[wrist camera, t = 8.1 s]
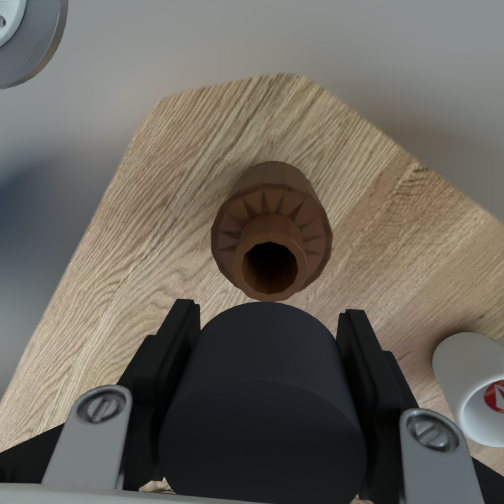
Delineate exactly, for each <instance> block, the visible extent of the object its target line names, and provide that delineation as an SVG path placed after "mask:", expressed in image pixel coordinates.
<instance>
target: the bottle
mask: <svg viewBox="0 0 504 504" xmlns="http://www.w3.org/2000/svg"><path fill="white" fill-rule="evenodd" d="M332 240H333V233H332V230H331V226H330V223H329V220H328V217H327V214H326V212H325V210H324V208H323V206H322V204H321V202H320V200H319V198H318V197H317V195H316V193H315V191H314V189H313V187H312V185H311V183H310V182H309V180H308V179H307V178H306V177H305V175H304V174H303V173H302V172H301V171H300V170H299V169H297V168H295V167H294V166H292V165H290V164H287V163H284V162H278V161H270V162H264V163H261V164H258V165H256V166H254V167H252V168H250V169H249V170H248V171H247V172H246V173H245V174H244V175H243V176H242V177H241V178H240V179H239V181H238V182H237V184H236V185H235V187H234V188H233V189H232V191H231V192H230V194H229V195H228V197H227V198H226V200H225V201H224V203H223V204H222V205H221V207H220V208H219V211H218V213H217V216H216V218H215V220H214V223H213V225H212V227H211V251H212V254H213V257H214V259H215V261H216V263H217V266H218V268H219V270H220V271H221V273H222V274H223V275H224V276H225V277H226V278H227V279H228V280H229V281H230V282H231V283H232V284H233V285H234V286H235V287H237V288H239V289H241V290H242V291H243V292H244V293H245V294H246V295H247V296H248V297H250V298H252V299H256V300H259V301H262V302H277V301H282V300H286V299H288V298H289V297H291V296H292V295H293V294H295V293H297V292H300V291H302V290H303V289H305V288H306V287H307V286H308V285H310V284H311V283H312V282H314V281H315V280H316V279H317V278H319V276H320V275H321V273H322V271H323V270H324V268H325V266H326V264H327V263H328V261H329V259H330V257H331V249H332Z"/></svg>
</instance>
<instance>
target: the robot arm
mask: <svg viewBox="0 0 504 504" xmlns="http://www.w3.org/2000/svg"><path fill="white" fill-rule="evenodd" d="M25 6H26V0H0V47H1V46H2V45H3V44H4V43H6V42H7V41H8V40H9V39H10V38H11V37H12V36H13V34H14V33H15V31H16V30H17V29H18V27H19V24H20V22H21V20H22V18H23V14H24V10H25ZM200 331H201V329H200V305H199V304H195V303H194V300H190V299H177V300H176V301H175V303H174V305H173V306H172V308H171V310H170V311H169V313H168V315H167V316H166V318H165V320H164V322H163V323H162V325H161V327H160V328H159V330H158V332H157V334H156V335H147V337H146V338H145V339H144V341H143V342H142V344H141V346H140V347H139V349H138V350H137V352H136V354H135V355H134V357H133V358H132V360H131V362H130V363H129V365H128V366H127V368H126V370H125V371H124V373H123V374H122V376H121V378H120V379H119V381H118V382H117V384H116V385H104V386H99V387H96V388H94V389H91V390H89V391H87V392H86V393H84V394H83V395H81V396H80V397H79V398H78V399H77V400H76V401H75V403H74V404H73V406H72V407H71V410H70V412H69V415H68V417H67V420H66V422H65V423H63V424H61V425H59V426H57V427H54V428H52V429H50V430H48V431H46V432H44V433H42V434H39V435H37V436H35V437H33V438H31V439H29V440H27V441H25V442H22V443H20V444H18V445H16V446H14V447H12V448H10V449H7V450H5V451H3V452H1V453H0V504H268V503H258V502H247V501H236V500H225V499H215V498H204V497H193V496H182V495H170V494H159V493H148V492H142V486H144V485H145V484H147V483H148V482H150V481H162V480H163V477H164V475H163V473H162V470H161V467H160V464H159V458H158V438H159V432H160V430H161V427H162V424H163V421H164V419H165V416H166V414H167V411H168V409H169V406H170V403H171V401H172V398H173V396H174V393H175V391H176V388H177V385H178V383H179V380H180V378H181V375H182V373H183V370H184V368H185V365H186V362H187V360H188V357H189V355H190V352H191V350H192V347H193V344H194V342H195V340H196V338H197V336H198V334H199V332H200ZM336 342H337V344H338V346H339V348H340V351H341V355H342V358H343V362H344V366H345V370H346V373H347V377H348V381H349V384H350V388H351V392H352V396H353V399H354V403H355V407H356V410H357V414H358V418H359V422H360V425H361V429H362V433H363V436H364V440H365V444H366V448H367V455H368V464H367V472H366V476H365V479H364V483H363V485H362V487H361V489H360V491H359V492H358V496H359V500H368V501H372V502H373V503H374V504H504V477H503V476H502V475H500V474H499V473H497V472H495V471H494V470H492V469H491V468H489V467H487V466H486V465H484V464H483V463H481V462H480V461H478V460H476V459H475V458H473V457H472V456H471V455H470V452H469V448H468V445H467V441H466V439H465V437H464V434H463V432H462V431H461V430H460V429H459V428H458V426H457V425H456V424H455V423H453V422H452V421H451V420H450V419H448V418H447V417H445V416H443V415H441V414H440V413H438V412H435V411H432V410H429V409H423V408H419V406H418V404H417V402H416V400H415V398H414V396H413V394H412V392H411V390H410V387H409V385H408V383H407V381H406V379H405V377H404V375H403V373H402V371H401V369H400V367H399V365H398V363H397V361H396V359H395V357H394V355H393V354H392V352H390V351H383V350H382V348H381V346H380V344H379V342H378V340H377V337H376V335H375V333H374V331H373V329H372V326H371V324H370V322H369V320H368V318H367V315H366V313H365V311H364V310H355V309H346V311H345V313H340V314H339V320H338V328H337V335H336Z"/></svg>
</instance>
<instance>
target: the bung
mask: <svg viewBox="0 0 504 504" xmlns="http://www.w3.org/2000/svg"><path fill="white" fill-rule="evenodd" d="M158 458H159V464H160V467H161V470H162V473H163V475H164V477H165V479H166V481H167V483H168V484H169V486H170V487H171V488H172V490H173V491H174V492H175V494H176V495H182V496H193V497H204V498H215V499H225V500H236V501H247V502H258V503H268V504H350V503H351V502H352V501H353V499H354V498H355V497H356V495H357V494H358V492H359V491H360V489H361V487H362V485H363V483H364V479H365V476H366V472H367V464H368V455H367V448H366V444H365V440H364V436H363V433H362V429H361V425H360V422H359V418H358V414H357V410H356V407H355V403H354V399H353V396H352V392H351V388H350V384H349V381H348V377H347V373H346V370H345V366H344V362H343V358H342V355H341V351H340V348H339V346H338V344H337V342H336V340H335V338H334V337H333V335H332V334H331V332H330V331H329V330H328V329H327V328H326V327H325V326H324V325H323V324H322V323H321V322H320V321H319V320H317V319H316V318H314V317H313V316H312V315H310V314H308V313H306V312H305V311H303V310H301V309H298V308H296V307H293V306H290V305H286V304H282V303H276V302H251V303H245V304H241V305H237V306H235V307H232V308H229V309H227V310H225V311H223V312H222V313H220V314H218V315H217V316H215V317H214V318H213V319H211V320H210V321H209V322H208V323H207V324H206V325H205V326H204V327H203V329H202V330H201V331H200V332H199V334H198V336H197V338H196V340H195V342H194V344H193V347H192V350H191V352H190V355H189V357H188V360H187V362H186V365H185V368H184V370H183V373H182V375H181V378H180V380H179V383H178V385H177V388H176V391H175V393H174V396H173V398H172V401H171V403H170V406H169V409H168V411H167V414H166V416H165V419H164V421H163V424H162V427H161V430H160V432H159V438H158Z"/></svg>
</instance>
